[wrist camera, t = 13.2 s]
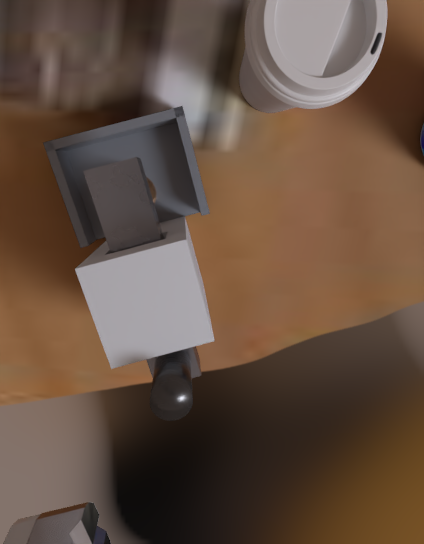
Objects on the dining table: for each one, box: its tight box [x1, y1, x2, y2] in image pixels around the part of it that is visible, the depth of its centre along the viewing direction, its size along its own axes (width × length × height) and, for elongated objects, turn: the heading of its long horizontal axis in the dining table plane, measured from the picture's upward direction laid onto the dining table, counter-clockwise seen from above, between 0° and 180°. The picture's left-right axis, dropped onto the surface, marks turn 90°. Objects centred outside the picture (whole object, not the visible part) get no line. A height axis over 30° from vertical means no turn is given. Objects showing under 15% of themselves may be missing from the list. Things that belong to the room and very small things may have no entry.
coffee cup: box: [239, 0, 387, 113], centre depth 31 cm, size 10×10×15 cm
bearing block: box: [75, 216, 214, 369], centre depth 34 cm, size 8×8×15 cm
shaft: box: [83, 157, 201, 421], centre depth 29 cm, size 18×4×8 cm, turn 14°
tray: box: [43, 106, 210, 248], centre depth 37 cm, size 10×13×4 cm
